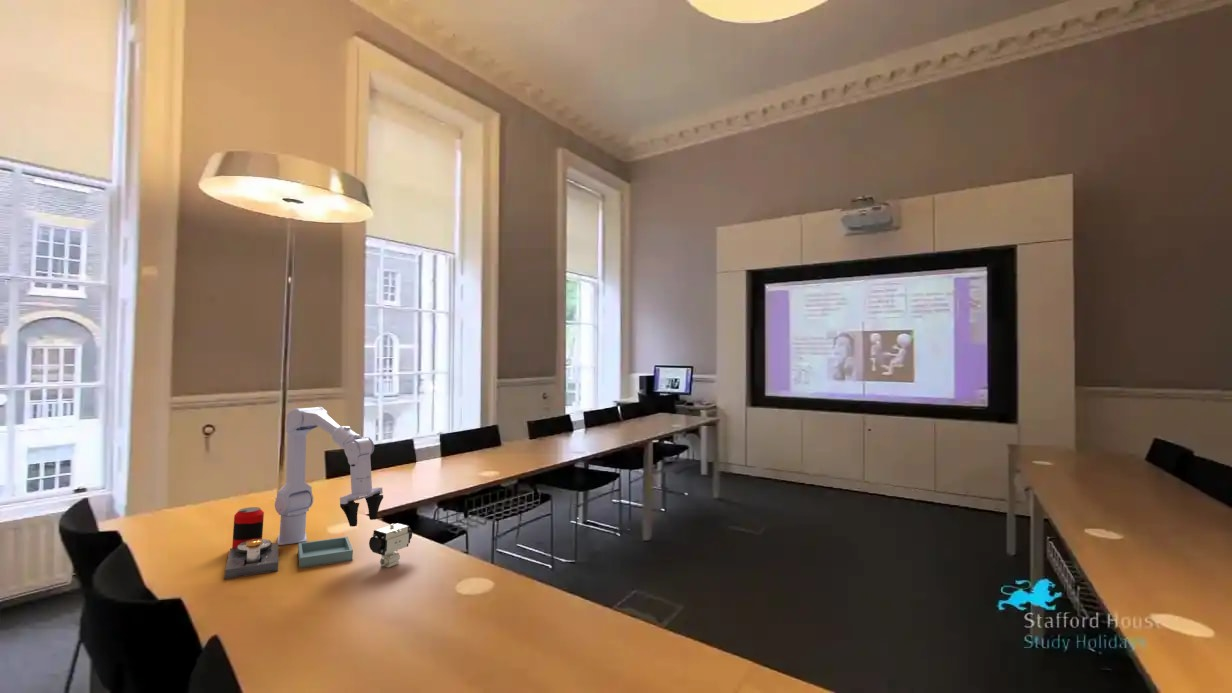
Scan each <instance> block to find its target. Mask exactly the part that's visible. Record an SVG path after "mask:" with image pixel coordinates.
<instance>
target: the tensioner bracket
mask: <svg viewBox="0 0 1232 693" xmlns="http://www.w3.org/2000/svg"><path fill="white" fill-rule="evenodd" d="M246 542H247V541H246ZM246 542H243V543H241V544H239V545H238V546H237V548H232V547H231V548H230V549H229V552H228V557H227V561H226V565H225V568H224V569H225V570H224V571H225V572H224V580H229V579H235V578H240V577H241V578H242V577H248V576H254V575H259V574H266V573H273V572H278V571H279V545H278V541H277V542H276V541H275V542H272V541H271V540H269V539H267V538H262V545H260V559H259V563H252V564H246V562H247V547H246Z"/></svg>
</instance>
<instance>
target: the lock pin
mask: <svg viewBox="0 0 1232 693" xmlns="http://www.w3.org/2000/svg"><path fill="white" fill-rule="evenodd" d="M262 539H263V538H262ZM262 539H253V540H249V541H247V542H246V547H247V562H246V564H252V563H259V559H260V545H262Z"/></svg>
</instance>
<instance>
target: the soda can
mask: <svg viewBox="0 0 1232 693" xmlns="http://www.w3.org/2000/svg"><path fill="white" fill-rule="evenodd" d="M264 515H265V512H264V511H263V510H262V509H261V507H258V506H252V507H244V508H240V509H239V510H238V511H237V512H236V513H235V514H234V517H233V527H232V528H233V532H232V544H231V545H232V546H231V548H237V546H238V545H239V544H241V543H243V542H246V541H249V540H253V539H263V532H264V518H265V517H264Z"/></svg>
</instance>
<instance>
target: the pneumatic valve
mask: <svg viewBox="0 0 1232 693" xmlns="http://www.w3.org/2000/svg"><path fill="white" fill-rule="evenodd" d="M412 537H413V530H412V529H411V527H410V525H408V524H404V523H400V522H397V523H390V525H388V526H385V527H384V526H383V527H382V528H377V529H375V530H373V534H372V536H371V538H369V543H368V545H369V549H370V551H371V552H372V553H374V554H377V555H381V558H380V560H379V564H380V566H382V567H386V568H388V569H389V568H392V567H394V566H397V565H398V564H399V563H400V558H401V555H400V552H398V551H399V550H401V549H404V548H407V547H409V544H411V539H412Z"/></svg>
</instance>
